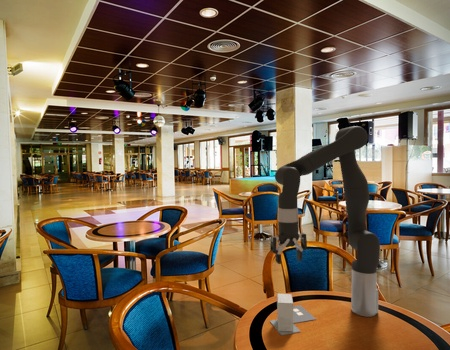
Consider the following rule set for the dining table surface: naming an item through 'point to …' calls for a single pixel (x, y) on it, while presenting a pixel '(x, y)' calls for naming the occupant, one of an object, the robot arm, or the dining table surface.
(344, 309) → the dining table surface
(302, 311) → the tile
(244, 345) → the dining table surface
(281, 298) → the small box
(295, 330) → the pad
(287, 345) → the dining table surface
